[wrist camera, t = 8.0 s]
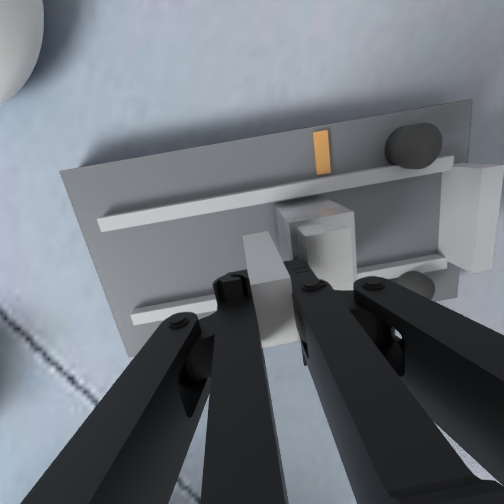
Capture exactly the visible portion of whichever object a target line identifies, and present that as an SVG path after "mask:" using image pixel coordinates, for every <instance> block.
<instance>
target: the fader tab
mask: <svg viewBox="0 0 504 504" xmlns="http://www.w3.org/2000/svg"><path fill="white" fill-rule="evenodd" d="M273 206H274V213H275V220H276V227H277V234H278V241H279V249H280V256H281V259H282V261H283V262H284V261H290V260H295V259H301V260H303V261H306V262H307V263H308V265H309V267H310V268H311V269H312V271H313V272H314V274H315V275H316V276H317V278H318V279H322V280H325V281H327V282H328V283H329V284H330V285H331V286H332V288H333V289H334V290H354V289H353V283H354V282H355V281H356V280H357V262H356V242H355V221H354V211H352V210H350V209H348V208H346V207H344V206H341V205H339V204H337V203H335V202H333V201H331V200H329V199H326V198H324V197H322V196H319V197H313V198H308V199H302V200H296V201H291V202H285V203H280V204H274V205H273Z"/></svg>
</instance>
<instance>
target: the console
mask: <svg viewBox="0 0 504 504" xmlns="http://www.w3.org/2000/svg"><path fill="white" fill-rule="evenodd" d="M471 112H472V99H469V100H463V101H458V102H452V103H446V104H440V105H435V106H429V107H423V108H417V109H412V110H406V111H400V112H395V113H389V114H383V115H377V116H372V117H366V118H360V119H354V120H349V121H343V122H337V123H331V124H326V125H320V126H314V127H309V128H303V129H297V130H291V131H286V132H280V133H274V134H268V135H263V136H257V137H251V138H245V139H240V140H234V141H228V142H223V143H217V144H211V145H205V146H200V147H194V148H188V149H182V150H177V151H171V152H165V153H159V154H154V155H148V156H142V157H136V158H131V159H125V160H119V161H114V162H108V163H102V164H96V165H91V166H85V167H79V168H73V169H68V170H62V171H59V172H60V174H61V177H62V180H63V182H64V185H65V188H66V191H67V193H68V196H69V199H70V201H71V204H72V207H73V209H74V212H75V215H76V217H77V220H78V223H79V225H80V228H81V231H82V234H83V236H84V239H85V242H86V244H87V247H88V250H89V252H90V255H91V258H92V260H93V263H94V266H95V269H96V271H97V274H98V277H99V279H100V282H101V285H102V287H103V290H104V293H105V295H106V298H107V301H108V303H109V306H110V309H111V312H112V314H113V317H114V320H115V322H116V325H117V328H118V330H119V333H120V336H121V338H122V341H123V344H124V346H125V349H126V352H127V355H128V357H134V356H136V355H137V353H138V352H139V351H140V350H141V348H142V347H143V346H144V344H145V343H146V342H147V341H148V339H149V338H150V337H151V335H152V334H153V333H154V332H155V330H156V329H157V328H158V326H159V325H160V324H161V323H162V322H163V321H164V320H165V319H166V318H168V317H170V316H171V315H173V314H176V313H179V312H193V313H195V314H196V315H197V317H198V320H199V319H202V318H204V317H207V316H209V315H211V314H213V313H214V312H216V311H217V301H216V297H215V293H214V289H213V282H214V281H215V280H216V279H218V278H219V277H222V276H224V275H226V274H227V273H229V272H235V271H240V270H246V269H247V264H246V257H245V250H244V243H243V236H244V235H249V234H254V233H260V232H265V231H268V232H269V234H270V236H271V238H272V240H273V242H274V244H275V246H276V248H277V251H278V253H279V255H280V249H279V241H278V234H277V227H276V220H275V213H274V206H273V205H274V204H280V203H285V202H291V201H296V200H302V199H308V198H313V197H319V196H322V197H324V198H326V199H329V200H331V201H333V202H335V203H337V204H339V205H341V206H344V207H346V208H348V209H350V210H352V211H354V221H355V242H356V262H357V280H358V279H360V278H364V277H367V276H371V277H372V276H377V277H383V278H386V279H389V280H391V281H393V282H395V283H397V284H399V285H401V286H403V287H405V288H407V289H410V290H412V291H414V292H416V293H418V294H420V295H422V296H424V297H426V298H428V299H430V300H432V301H440V300H445V299H451V298H456V297H457V292H458V279H459V267H460V268H462V269H464V270H466V271H468V272H470V273H472V274H473V273H478V272H484V271H489V270H492V268H493V259H494V251H495V243H496V234H497V226H498V217H499V209H500V201H501V192H502V184H503V175H504V164H481V163H468V151H469V138H470V125H471ZM280 257H281V256H280Z"/></svg>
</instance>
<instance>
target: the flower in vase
mask: <svg viewBox="0 0 504 504" xmlns="http://www.w3.org/2000/svg"><path fill="white" fill-rule="evenodd" d="M43 32H44V9H43V0H0V106H1V105H3V104H4V103H5V102H7V101H8V100H10V99H11V98H12V97H14V96H15V95H16V93H17V92H18V91H19V90H20V89H21V88H22V87H23V86H24V84H25V83H26V81H27V80H28V78H29V77H30V75H31V74H32V71H33V69H34V67H35V65H36V63H37V60H38V57H39V53H40V50H41V46H42V39H43Z"/></svg>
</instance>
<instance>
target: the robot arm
mask: <svg viewBox="0 0 504 504" xmlns="http://www.w3.org/2000/svg"><path fill="white" fill-rule="evenodd" d="M243 243H244V250H245V257H246V264H247V269H246V270H240V271H235V272H229V273H227V274H226V275H224V276H222V277H219V278H218V279H216V280H215V281H214V282H213V289H214V293H215V297H216V301H217V311H216V312H214V313H213V314H211V315H209V316H207V317H204V318H202V319H199V320H198V317H197V315H196V314H195V313H193V312H179V313H176V314H173V315H171V316H170V317H168V318H166V319H165V320H164V321H163V322H162V323H161V324H160V325H159V326H158V328H157V329H156V330H155V332H154V333H153V334H152V335H151V337H150V338H149V339H148V341H147V342H146V343H145V344H144V346H143V347H142V348H141V350H140V351H139V352H138V353H137V355H136V356H135V357H134V359H133V360H132V361H131V362H130V364H129V365H128V366H127V368H126V369H125V370H124V371H123V373H122V374H121V375H120V377H119V378H118V379H117V380H116V382H115V383H114V384H113V386H112V387H111V388H110V389H109V391H108V392H107V393H106V395H105V396H104V397H103V398H102V400H101V401H100V402H99V403H98V405H97V406H96V407H95V409H94V410H93V411H92V412H91V414H90V415H89V416H88V418H87V419H86V420H85V421H84V423H83V424H82V425H81V427H80V428H79V429H78V430H77V432H76V433H75V434H74V436H73V437H72V438H71V439H70V441H69V442H68V443H67V445H66V446H65V447H64V448H63V450H62V451H61V452H60V454H59V455H58V456H57V457H56V459H55V460H54V461H53V463H52V464H51V465H50V466H49V468H48V469H47V470H46V472H45V473H44V474H43V475H42V477H41V478H40V479H39V480H38V482H37V483H36V484H35V486H34V487H33V488H32V489H31V491H30V492H29V493H28V495H27V496H26V497H25V498H24V500H23V501H22V502H21V504H168V503H169V500H170V497H171V495H172V492H173V489H174V486H175V484H176V481H177V478H178V476H179V473H180V470H181V468H182V465H183V462H184V460H185V457H186V454H187V452H188V449H189V446H190V444H191V441H192V438H193V436H194V433H195V430H196V428H197V425H198V422H199V419H200V417H201V414H202V411H203V409H204V406H205V403H206V401H207V398H208V395H209V393H210V397H209V409H208V420H207V432H206V444H205V456H204V468H203V480H202V492H201V504H289V503H288V497H287V491H286V485H285V479H284V473H283V467H282V461H281V455H280V449H279V443H278V437H277V431H276V425H275V419H274V413H273V407H272V401H271V395H270V390H269V384H268V378H267V372H266V366H265V360H264V354H263V349H262V348H265V347H270V346H276V345H281V344H286V343H292V342H297V341H299V335H300V339H301V347H302V354H303V362H304V366H306V365H308V368H309V371H310V373H311V376H312V379H313V382H314V384H315V387H316V390H317V393H318V396H319V398H320V401H321V404H322V407H323V409H324V412H325V415H326V418H327V421H328V423H329V426H330V429H331V432H332V434H333V437H334V440H335V443H336V446H337V448H338V451H339V454H340V457H341V460H342V462H343V465H344V468H345V471H346V473H347V476H348V479H349V482H350V485H351V487H352V490H353V493H354V496H355V498H356V501H357V504H504V335H502V334H500V333H498V332H496V331H494V330H492V329H490V328H487V327H485V326H483V325H481V324H479V323H477V322H475V321H473V320H471V319H469V318H467V317H465V316H463V315H461V314H459V313H457V312H455V311H453V310H451V309H448V308H446V307H444V306H442V305H440V304H438V303H436V302H434V301H432V300H430V299H428V298H426V297H424V296H422V295H420V294H418V293H416V292H414V291H412V290H410V289H407V288H405V287H403V286H401V285H399V284H397V283H395V282H393V281H391V280H389V279H386V278H383V277H377V276H372V277H371V276H367V277H364V278H360V279H358V280H356V281H355V282H354V283H353V289H354V290H334V289H333V288H332V286H331V285H330V284H329V283H328V282H327V281H325V280H322V279H318V278H317V276H316V275H315V274H314V272H313V271H312V269H311V268H310V267H309V265H308V263H307V262H306V261H303V260H301V259H295V260H290V261H284V262H283V261H282V259H281V257H280V255H279V253H278V251H277V248H276V246H275V244H274V242H273V240H272V238H271V236H270V234H269V232H268V231H265V232H260V233H254V234H249V235H244V236H243ZM395 329H396V330H397V331H398V332H399V333H400V334H401V336H402V339H400V338H399V337H397V336H396V335H395ZM298 333H299V335H298ZM433 421H434V422H435V423H436V424H437V425H438V426H439V427H440V428H441V429H442V430H443V431H444V432H445V433H447V434H448V435H449V436H450V437H451V438H452V439H453V440H454V441H455V442H456V443H457V444H458V445H460V446H461V447H462V448H463V449H464V450H465V451H466V452H467V453H468V454H469V455H470V456H471V457H473V458H474V459H475V460H476V461H477V462H478V463H479V464H480V465H481V466H482V467H483V468H484V469H486V470H487V471H488V472H489V473H490V474H491V475H492V476H493V477H494V478H495V479H496V480H497V481H499V482H500V483H501V484H502V485H503V486H502V485H501V484H499V483H498V482H496V481H493V480H481V479H479V478H478V477H476V476H475V475H474V474H473V473H472V472H471V471H470V470H469V468H468V467H467V466H466V465H465V463H464V462H463V461H462V459H461V458H460V457H459V455H458V454H457V453H456V451H455V450H454V449H453V447H452V446H451V445H450V443H449V442H448V441H447V440H446V438H445V437H444V436H443V434H442V433H441V432H440V430H439V429H438V428H437V426H436V425H435V424H434V422H433Z"/></svg>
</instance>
